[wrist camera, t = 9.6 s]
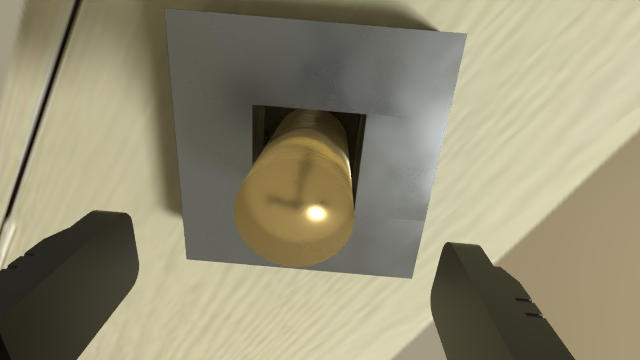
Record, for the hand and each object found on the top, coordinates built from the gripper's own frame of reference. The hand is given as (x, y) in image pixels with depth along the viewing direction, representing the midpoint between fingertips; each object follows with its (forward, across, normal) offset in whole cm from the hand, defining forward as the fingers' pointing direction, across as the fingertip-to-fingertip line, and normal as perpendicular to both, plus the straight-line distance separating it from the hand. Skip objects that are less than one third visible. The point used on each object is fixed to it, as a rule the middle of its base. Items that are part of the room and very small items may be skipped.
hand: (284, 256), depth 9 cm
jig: (+11, 0, 0) cm, 11 cm away
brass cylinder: (+11, 0, 0) cm, 11 cm away
